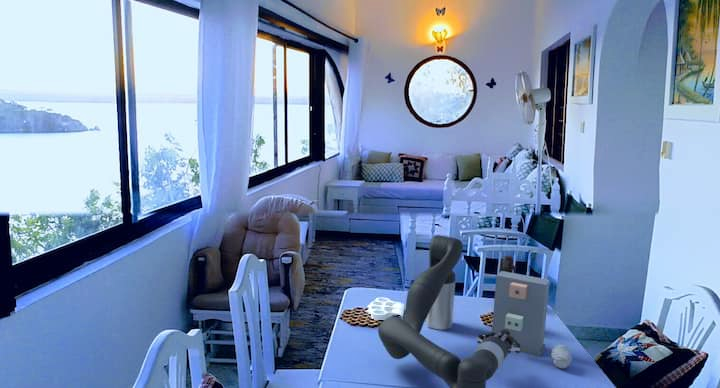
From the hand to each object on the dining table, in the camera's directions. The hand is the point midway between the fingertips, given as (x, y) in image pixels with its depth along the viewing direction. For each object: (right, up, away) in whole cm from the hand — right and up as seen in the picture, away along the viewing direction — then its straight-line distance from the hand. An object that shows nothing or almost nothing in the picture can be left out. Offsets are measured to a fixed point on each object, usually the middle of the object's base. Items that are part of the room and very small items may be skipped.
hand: (506, 332), depth 161 cm
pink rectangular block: (+6, +9, +9) cm, 14 cm away
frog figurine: (+18, -12, +3) cm, 21 cm away
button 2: (+5, -1, +9) cm, 10 cm away
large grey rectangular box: (+8, -9, +17) cm, 21 cm away
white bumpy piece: (-35, -4, +40) cm, 54 cm away
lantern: (+14, -3, +53) cm, 55 cm away
